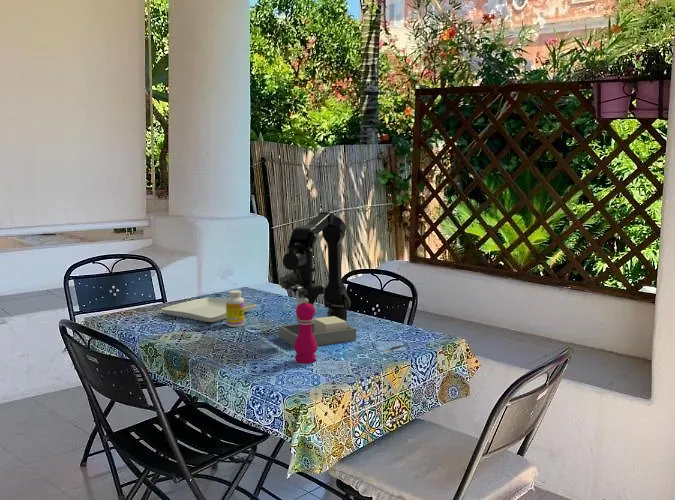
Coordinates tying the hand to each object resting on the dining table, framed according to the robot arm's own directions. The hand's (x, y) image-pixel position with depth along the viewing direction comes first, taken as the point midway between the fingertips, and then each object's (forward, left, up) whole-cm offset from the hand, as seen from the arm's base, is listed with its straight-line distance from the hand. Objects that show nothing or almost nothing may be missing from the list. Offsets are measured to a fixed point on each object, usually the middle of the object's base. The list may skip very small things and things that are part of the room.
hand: (304, 310), depth 240 cm
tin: (0, 0, -3) cm, 3 cm away
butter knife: (-18, +22, -12) cm, 31 cm away
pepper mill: (+8, +18, -12) cm, 23 cm away
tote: (-5, 0, -11) cm, 12 cm away
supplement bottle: (+12, -33, -12) cm, 37 cm away
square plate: (+15, -54, -12) cm, 58 cm away
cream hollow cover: (-10, 0, -10) cm, 14 cm away
